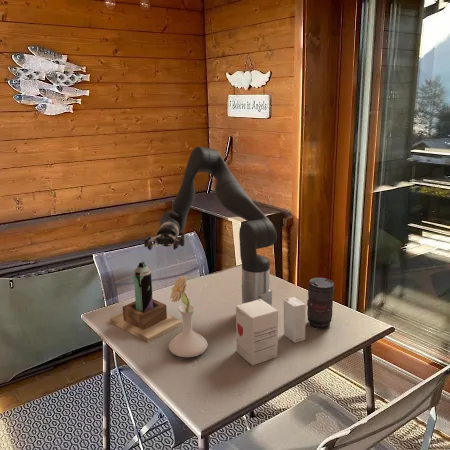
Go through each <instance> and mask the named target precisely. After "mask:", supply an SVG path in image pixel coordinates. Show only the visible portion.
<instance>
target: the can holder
mask: <svg viewBox="0 0 450 450" xmlns="http://www.w3.org/2000/svg"><path fill="white" fill-rule="evenodd" d="M109 323H111V324H112V325H115V326H117V327H119V328H121V329H123V330H124V331H126V332H127V333H130V334H131V335H134V336H135V337H137V338H139V339H141V340H143V341H144V342H147V343H150V342H152V341H154V340H157V339H158V338H160V337H162V336H164V335H166V334H168V333H170V332H172V331H174V330H176V329H178V328H180V327H182V326H183V320H180V319H178V318H176V317H174V316H171V315H169V314H168V313H167V304H165V303H162V302H160V301H158V300H156V299H154V298H153V308H152V309H150V310H148V311H146V312H144V313H142V312H140V311H138V310H136V300H135V301H133V302H130V303H128V304H125V305H122V312H120V313H118V314H115V315H113V316H111V317H109Z"/></svg>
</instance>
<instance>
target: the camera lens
mask: <svg viewBox="0 0 450 450" xmlns="http://www.w3.org/2000/svg"><path fill="white" fill-rule="evenodd" d="M307 286H308V289H307V290H308V291H307V297H308V299H307V302H306V303H307V304H306V307H307V310H306V311H307V312H306V313H307V321H308V325H309V326H310V327H311V328H312V327H313V329H315V328H316V330H326V329H328V328H329V327H330V326H331V322H332V318H333V306H334V305H333V304H334V298H335V297H334V296H335V282H333V280H331V279H328V278H325V277H313V278H311V279H309V283H308V285H307Z"/></svg>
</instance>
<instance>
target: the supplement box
mask: <svg viewBox="0 0 450 450" xmlns="http://www.w3.org/2000/svg"><path fill="white" fill-rule="evenodd" d="M235 322H236V323H235V326H236V328H235V333H236V334H235V336H236V340H235V341H236V342H235V343H236V344H235V346H236V347H235V349H236V350H235V351H236V353H238V354H239V355H240V356H241V357H242V358H243V359H244V360H246V362H248V363H249V364H250V366H256V365H257V364H261V363H264V362H266V361H269V360H272V359H276V358H277V357H278V340H279V339H278V338H279V336H278V332H279V310H278V309H277V308H275V307H273V305H272V306H271V305H270V304H268V303H266V302H265V301H263V300H262V299H259V300H255V301H252V302H248V303H244V304H242V303H241V304H238V305H236V306H235Z"/></svg>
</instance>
